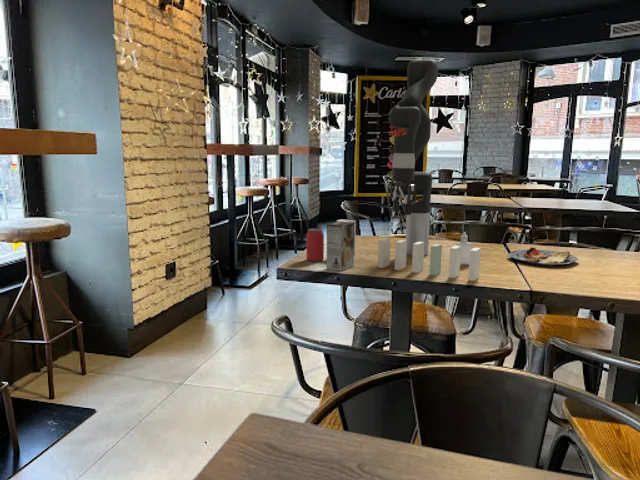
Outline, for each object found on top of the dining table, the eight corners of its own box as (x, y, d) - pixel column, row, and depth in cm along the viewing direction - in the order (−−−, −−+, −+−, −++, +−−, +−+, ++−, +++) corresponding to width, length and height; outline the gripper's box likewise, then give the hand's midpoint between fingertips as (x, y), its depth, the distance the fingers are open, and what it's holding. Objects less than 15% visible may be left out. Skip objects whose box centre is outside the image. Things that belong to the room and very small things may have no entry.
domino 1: (384, 264, 182) (385, 237, 180) (389, 265, 181) (390, 238, 179) (377, 267, 177) (378, 240, 175) (383, 267, 176) (383, 240, 174)
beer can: (321, 262, 184) (322, 231, 182) (304, 261, 185) (304, 230, 183) (325, 258, 190) (325, 228, 188) (308, 258, 192) (308, 227, 189)
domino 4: (453, 274, 168) (455, 245, 166) (459, 274, 167) (461, 246, 165) (448, 277, 164) (450, 248, 162) (454, 278, 162) (456, 248, 161)
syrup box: (335, 256, 195) (335, 220, 192) (344, 254, 199) (345, 218, 197) (346, 258, 191) (347, 221, 189) (355, 256, 196) (356, 220, 193)
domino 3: (417, 268, 175) (418, 241, 173) (423, 269, 174) (424, 242, 172) (411, 272, 170) (412, 243, 169) (417, 272, 169) (418, 244, 168)
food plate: (525, 251, 207) (526, 243, 206) (585, 260, 191) (586, 252, 190) (498, 261, 189) (499, 253, 189) (561, 273, 173) (562, 263, 173)
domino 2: (400, 266, 178) (401, 239, 177) (405, 267, 177) (406, 240, 176) (394, 269, 174) (395, 241, 172) (399, 270, 173) (400, 242, 171)
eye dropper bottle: (468, 265, 180) (470, 233, 178) (453, 263, 183) (455, 232, 181) (471, 263, 184) (473, 232, 182) (457, 261, 187) (458, 230, 185)
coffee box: (338, 264, 182) (339, 221, 179) (354, 266, 178) (354, 222, 175) (325, 269, 174) (326, 224, 171) (341, 271, 171) (342, 225, 168)
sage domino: (435, 271, 171) (436, 243, 170) (440, 272, 170) (442, 244, 169) (429, 274, 167) (430, 245, 165) (435, 275, 166) (436, 246, 164)
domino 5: (472, 276, 165) (474, 247, 163) (478, 277, 164) (480, 248, 162) (468, 280, 160) (469, 250, 158) (474, 281, 159) (476, 250, 157)
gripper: (423, 167, 164) (421, 215, 167) (403, 165, 177) (401, 210, 180) (403, 167, 161) (402, 216, 164) (384, 165, 175) (383, 211, 178)
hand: (401, 213), depth 172 cm, fingers open, 8 cm apart
